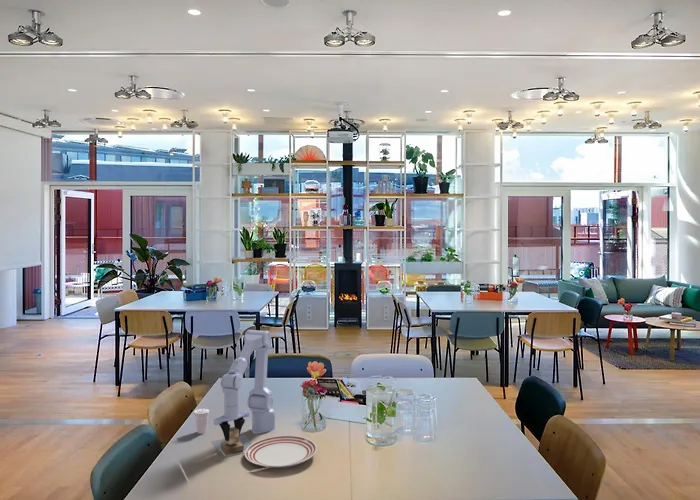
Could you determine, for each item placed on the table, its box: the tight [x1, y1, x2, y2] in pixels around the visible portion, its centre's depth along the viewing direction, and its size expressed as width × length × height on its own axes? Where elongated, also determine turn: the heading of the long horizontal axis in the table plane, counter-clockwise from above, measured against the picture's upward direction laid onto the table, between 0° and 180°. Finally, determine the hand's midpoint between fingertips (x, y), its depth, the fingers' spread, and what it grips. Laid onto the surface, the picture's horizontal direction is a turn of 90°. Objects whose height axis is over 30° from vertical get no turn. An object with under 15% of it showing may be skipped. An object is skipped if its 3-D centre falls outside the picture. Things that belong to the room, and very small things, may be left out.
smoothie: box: [193, 400, 210, 435], centre depth 227 cm, size 6×6×14 cm
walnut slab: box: [221, 441, 244, 455], centre depth 208 cm, size 7×7×2 cm
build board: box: [211, 434, 253, 459], centre depth 212 cm, size 14×18×1 cm
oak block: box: [225, 426, 239, 445], centre depth 208 cm, size 4×4×5 cm
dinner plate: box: [244, 434, 318, 469], centre depth 202 cm, size 28×27×3 cm
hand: (232, 438), depth 207 cm, fingers closed on oak block, 4 cm apart
